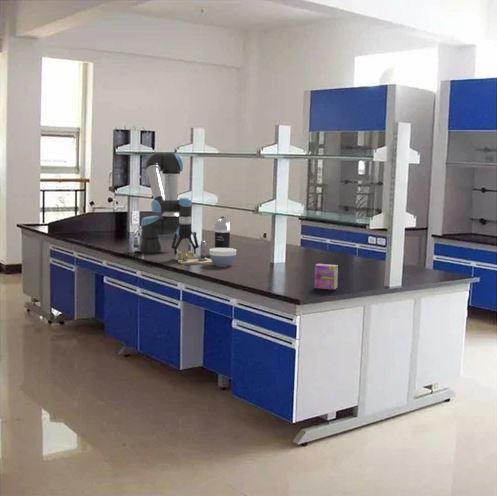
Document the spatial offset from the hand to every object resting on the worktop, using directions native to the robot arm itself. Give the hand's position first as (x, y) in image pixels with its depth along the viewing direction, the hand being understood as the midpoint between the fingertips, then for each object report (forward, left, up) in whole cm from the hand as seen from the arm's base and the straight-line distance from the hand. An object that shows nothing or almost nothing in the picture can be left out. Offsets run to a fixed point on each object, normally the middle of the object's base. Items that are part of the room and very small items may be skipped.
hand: (184, 259), depth 438 cm
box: (+104, +45, 0) cm, 113 cm away
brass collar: (0, 0, 0) cm, 0 cm away
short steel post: (+12, -3, +1) cm, 12 cm away
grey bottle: (-15, +29, 0) cm, 33 cm away
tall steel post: (+12, +8, +1) cm, 14 cm away
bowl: (+26, +16, 0) cm, 31 cm away
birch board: (+12, +4, 0) cm, 13 cm away
